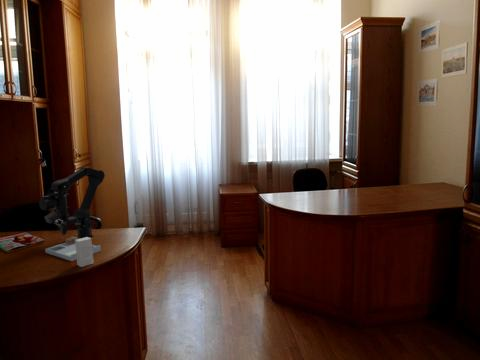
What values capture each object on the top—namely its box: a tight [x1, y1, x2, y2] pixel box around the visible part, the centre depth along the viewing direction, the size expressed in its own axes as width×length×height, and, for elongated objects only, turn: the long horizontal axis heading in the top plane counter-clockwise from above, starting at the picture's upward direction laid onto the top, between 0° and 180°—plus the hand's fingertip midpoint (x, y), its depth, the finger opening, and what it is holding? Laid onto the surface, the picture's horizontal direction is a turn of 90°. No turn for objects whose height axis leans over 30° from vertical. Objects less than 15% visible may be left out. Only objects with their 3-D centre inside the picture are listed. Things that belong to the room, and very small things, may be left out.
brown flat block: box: [64, 236, 79, 245], centre depth 206 cm, size 4×4×2 cm
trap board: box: [44, 242, 102, 262], centre depth 198 cm, size 16×22×3 cm
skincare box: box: [75, 237, 95, 268], centre depth 180 cm, size 6×4×12 cm
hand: (63, 234), depth 209 cm, fingers closed
